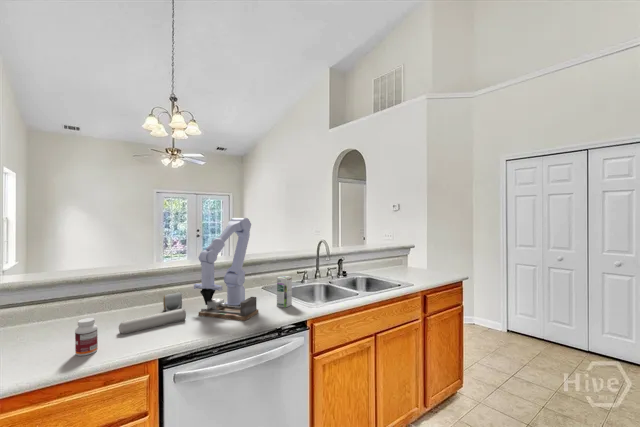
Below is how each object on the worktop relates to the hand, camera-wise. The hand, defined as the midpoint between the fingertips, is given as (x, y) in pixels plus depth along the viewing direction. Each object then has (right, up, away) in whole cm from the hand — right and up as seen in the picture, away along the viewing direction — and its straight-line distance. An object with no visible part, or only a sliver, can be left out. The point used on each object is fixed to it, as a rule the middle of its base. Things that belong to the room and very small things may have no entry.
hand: (208, 304), depth 156 cm
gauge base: (+11, -3, -3) cm, 12 cm away
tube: (-16, -4, -19) cm, 25 cm away
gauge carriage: (+5, -2, -3) cm, 6 cm away
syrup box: (+35, -4, +10) cm, 36 cm away
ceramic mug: (-18, -4, +4) cm, 19 cm away
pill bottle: (-26, -4, -44) cm, 51 cm away
